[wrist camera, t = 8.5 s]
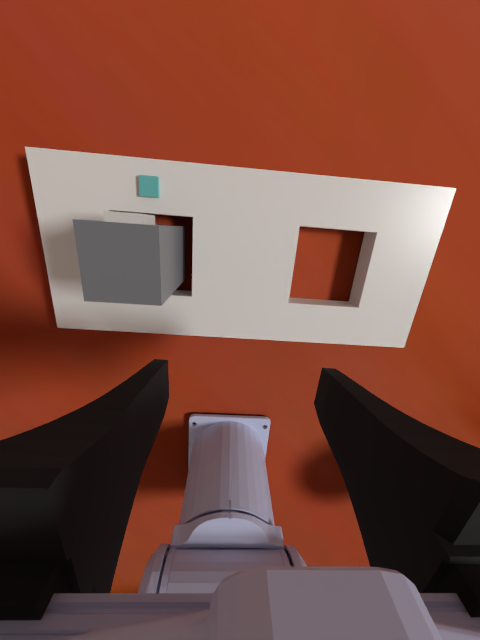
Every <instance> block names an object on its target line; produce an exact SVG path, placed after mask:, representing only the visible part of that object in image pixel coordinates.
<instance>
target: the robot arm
mask: <svg viewBox="0 0 480 640" xmlns="http://www.w3.org/2000/svg"><path fill="white" fill-rule="evenodd" d="M168 399H169V381H168V360H157V359H154V360H153V361H151V362H150V363H149V364H147V365H146V366H145V367H143V368H142V369H141V370H139V371H138V372H137V373H135V374H134V375H133V376H131V377H130V378H129V379H127V380H126V381H124V382H123V383H121V384H120V385H118V386H117V387H115V388H114V389H112V390H111V391H109V392H108V393H106V394H105V395H103V396H101V397H100V398H98V399H96V400H94V401H93V402H91V403H89V404H87V405H85V406H83V407H81V408H79V409H77V410H75V411H73V412H71V413H69V414H67V415H64V416H62V417H60V418H58V419H56V420H54V421H51V422H49V423H47V424H44V425H42V426H39V427H37V428H34V429H32V430H29V431H26V432H24V433H21V434H18V435H15V436H13V437H10V438H7V439H4V440H1V441H0V640H480V448H478V447H475V446H472V445H470V444H467V443H465V442H463V441H460V440H458V439H455V438H453V437H451V436H449V435H446V434H444V433H442V432H440V431H438V430H436V429H433V428H431V427H429V426H427V425H425V424H423V423H421V422H419V421H417V420H416V419H414V418H412V417H410V416H408V415H406V414H404V413H403V412H401V411H399V410H397V409H396V408H394V407H392V406H391V405H389V404H388V403H386V402H384V401H383V400H381V399H380V398H378V397H377V396H375V395H374V394H372V393H371V392H369V391H368V390H366V389H365V388H363V387H362V386H360V385H359V384H357V383H356V382H355V381H353V380H352V379H350V378H349V377H347V376H346V375H344V374H343V373H341V372H340V371H338V370H336V369H332V368H322V371H321V375H320V380H319V384H318V388H317V393H316V397H315V401H314V405H315V408H316V412H317V416H318V419H319V422H320V425H321V427H322V430H323V432H324V434H325V436H326V439H327V441H328V443H329V445H330V448H331V450H332V452H333V454H334V457H335V459H336V461H337V463H338V466H339V468H340V470H341V473H342V475H343V478H344V481H345V484H346V487H347V490H348V493H349V496H350V499H351V502H352V505H353V508H354V511H355V515H356V518H357V521H358V525H359V528H360V531H361V535H362V538H363V542H364V546H365V549H366V553H367V556H368V560H369V564H370V567H320V566H307V565H306V563H305V561H304V560H303V558H302V557H301V556H300V554H299V553H298V551H297V550H296V548H295V547H294V546H292V545H284V541H283V535H282V529H281V527H280V526H274V519H273V512H272V505H271V498H270V491H269V484H268V478H267V471H266V464H265V456H266V450H267V443H268V436H269V429H270V419H269V418H268V417H264V416H239V415H214V414H192V415H190V417H189V455H188V476H187V482H186V487H185V493H184V499H183V504H182V510H181V516H180V522H179V525H175V526H174V529H173V534H172V539H171V545H170V544H161V545H160V546H159V547H158V548H157V550H156V551H155V552H154V553H153V554H152V556H151V557H150V558H149V560H148V562H147V565H146V567H145V570H144V573H143V576H142V580H141V583H140V587H139V591H138V593H110V590H111V586H112V582H113V578H114V574H115V570H116V566H117V562H118V558H119V554H120V550H121V546H122V542H123V539H124V535H125V531H126V527H127V524H128V520H129V516H130V513H131V509H132V505H133V502H134V498H135V495H136V491H137V488H138V485H139V481H140V478H141V474H142V471H143V469H144V466H145V463H146V460H147V458H148V456H149V453H150V451H151V448H152V446H153V443H154V441H155V438H156V436H157V433H158V431H159V428H160V425H161V423H162V420H163V418H164V414H165V411H166V407H167V403H168ZM193 422H195V423H196V424H194V423H193ZM263 425H266V426H263Z"/></svg>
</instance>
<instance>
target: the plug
mask: <svg viewBox="0 0 480 640" xmlns="http://www.w3.org/2000/svg"><path fill="white" fill-rule="evenodd" d="M103 213H104V221H97V220H77V219H72V220H73V227H74V234H75V241H76V248H77V255H78V262H79V269H80V276H81V283H82V290H83V297H84V301H88V302H105V303H122V304H139V305H156V306H162V305H163V304H164V303H165V301H166V300H167V299H168V298H169V297H170V296H171V295H172V294H173V292H174V291H175V290H176V289H177V288H178V287H179V286H180V285H181V283H182V282H183V281H184V280H185V226H174V225H161V224H155V216H154V215H148V214H138V213H126V212H113V211H103Z"/></svg>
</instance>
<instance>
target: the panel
mask: <svg viewBox="0 0 480 640" xmlns="http://www.w3.org/2000/svg"><path fill="white" fill-rule="evenodd" d="M25 150H26V156H27V161H28V167H29V173H30V178H31V184H32V189H33V195H34V200H35V206H36V211H37V217H38V223H39V228H40V234H41V239H42V245H43V250H44V256H45V262H46V267H47V273H48V278H49V284H50V289H51V295H52V300H53V306H54V312H55V317H56V323H57V328H71V329H88V330H105V331H123V332H140V333H158V334H175V335H192V336H210V337H227V338H245V339H262V340H279V341H297V342H314V343H332V344H349V345H366V346H384V347H401V348H404V346H405V343H406V340H407V337H408V334H409V331H410V328H411V325H412V322H413V319H414V316H415V313H416V310H417V307H418V304H419V300H420V297H421V294H422V291H423V288H424V285H425V282H426V279H427V276H428V273H429V270H430V267H431V264H432V261H433V258H434V255H435V252H436V249H437V246H438V243H439V240H440V237H441V234H442V231H443V228H444V225H445V222H446V219H447V216H448V212H449V209H450V206H451V203H452V200H453V197H454V194H455V191H456V188H448V187H438V186H427V185H417V184H407V183H396V182H386V181H375V180H365V179H355V178H344V177H334V176H324V175H313V174H303V173H293V172H282V171H272V170H261V169H251V168H241V167H230V166H220V165H210V164H199V163H189V162H179V161H168V160H158V159H147V158H137V157H127V156H116V155H106V154H96V153H85V152H75V151H65V150H54V149H44V148H33V147H25ZM103 211H113V212H120V211H121V212H133V213H145V214H156V215H168V216H180V217H192V218H193V248H192V291H187V290H175V291H174V292H173V294H172V295H171V296H170V297H169V298H168V299H167V300H166V301H165V303H164V304H163V305H162V306H156V305H139V304H122V303H105V302H88V301H84V297H83V290H82V283H81V276H80V269H79V262H78V255H77V248H76V241H75V234H74V227H73V220H72V219H77V220H97V221H104V213H103ZM300 227H311V228H323V229H335V230H347V231H359V232H365V233H364V237H363V242H362V246H361V250H360V255H359V259H358V263H357V267H356V272H355V276H354V280H353V285H352V289H351V293H350V298H349V301H336V300H321V299H306V298H291V297H289V295H290V289H291V282H292V275H293V268H294V262H295V255H296V248H297V241H298V234H299V228H300Z"/></svg>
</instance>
